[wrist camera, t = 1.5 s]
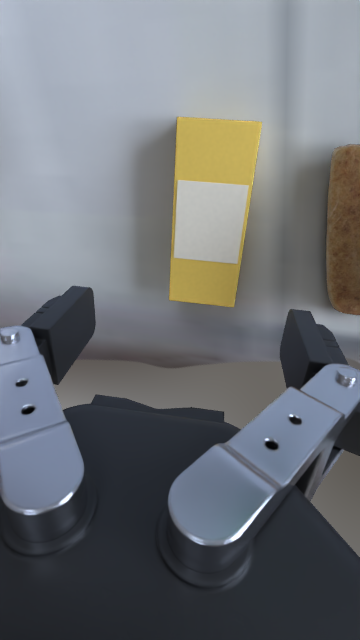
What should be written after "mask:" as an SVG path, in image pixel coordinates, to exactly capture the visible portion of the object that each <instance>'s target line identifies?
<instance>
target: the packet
mask: <svg viewBox="0 0 360 640" xmlns="http://www.w3.org/2000/svg"><path fill="white" fill-rule="evenodd" d="M261 127H262V122H257V121H240V120H223V119H207V118H190V117H177V128H176V151H175V174H174V196H173V219H172V241H171V264H170V286H169V300H171V301H180V302H189V303H198V304H207V305H216V306H226V307H234V305H235V298H236V292H237V285H238V279H239V272H240V265H241V259H242V252H243V246H244V239H245V232H246V226H247V219H248V213H249V206H250V199H251V193H252V186H253V180H254V173H255V166H256V160H257V153H258V147H259V140H260V133H261Z"/></svg>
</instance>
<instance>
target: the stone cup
mask: <svg viewBox="0 0 360 640" xmlns="http://www.w3.org/2000/svg"><path fill="white" fill-rule="evenodd" d="M326 274H327V290H328V295H329V299H330V301H331V304H332V306H333V308H334V309H336V310H337V311H339V312H342V313H346V314H353V315H360V145H355V144H349V145H346V146H339V147H337V148H335V149H334V151H333V154H332V159H331V167H330V184H329V189H328V208H327V237H326Z"/></svg>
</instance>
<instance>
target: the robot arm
mask: <svg viewBox="0 0 360 640" xmlns="http://www.w3.org/2000/svg"><path fill="white" fill-rule="evenodd" d="M95 323H96V321H95V308H94V296H93V290H92V288H90V287H80V286H72V287H71V288H69V289H68V290H67V291H66V292H65V293H64V294H63V295H62V296H57V297H55V298H53V299H51V300H49V301H47V302H46V303H45V304H44V305H43V306H42V308H40V309H39V310H37V311H36V313H34V314H33V315H32V316H31V317H30V318H29V319H27V320H26V321H25V322H24V323H23V324H22V325H21V326H8V327H3V328H0V640H360V557H359V556H358V555H357V554H356V553H355V552H354V551H353V549H352V548H351V547H350V546H349V545H348V544H347V543H346V542H345V540H343V538H342V537H341V536H340V535H339V534H338V533H337V531H336V530H335V529H334V528H333V527H332V526H331V525H330V524H329V522H327V520H326V519H325V518H324V517H323V516H322V515H321V514H320V512H319V511H318V510H317V509H316V508H315V507H314V506H313V504H312V503H311V502H310V501H311V499H312V497H313V495H314V494H315V492H316V490H317V488H318V487H319V485H320V484H321V482H322V481H323V479H324V478H325V477H326V475H327V474H328V472H329V471H330V469H331V468H332V467H333V465H334V463H335V462H336V461H337V459H338V458H339V456H340V455H341V454H342V452H343V450H346V451H348V452H351V453H354V454H356V455H358V456H360V371H359V370H358V369H356V368H354V367H351V366H349V365H348V363H347V361H346V359H345V357H344V355H343V353H342V351H341V349H340V348H339V345H338V343H337V342H336V339H335V337H334V335H333V333H332V332H331V331H330V330H328V329H327V328H326V327H325V326H324V325H320V324H316V322H315V320H314V318H313V316H312V314H311V312H310V311H303V310H294V309H290V310H289V312H288V316H287V320H286V324H285V328H284V333H283V337H282V341H281V346H280V360H281V364H282V369H283V373H284V378H285V382H286V387H287V389H286V390H285V391H284V392H283V393H282V394H281V395H280V396H279V397H277V398H276V399H275V400H274V401H273V402H272V403H271V404H270V405H268V406H267V407H266V408H265V409H264V410H263V411H262V412H260V413H259V414H258V415H257V416H256V417H255V418H254V419H253V420H251V421H250V422H249V423H248V424H247V425H246V426H245V427H243V428H242V429H239V428H237V427H235V426H233V425H231V424H229V423H226V422H224V412H222V411H214V410H207V409H200V408H192V407H191V408H174V409H173V408H172V409H155V408H152V407H149V406H146V405H143V404H141V403H137V402H135V401H132V400H129V399H125V398H117V397H110V396H103V395H95V397H94V399H93V401H92V403H91V404H83V405H77V406H73V407H70V408H67V409H64V410H62V407H61V404H60V401H59V398H58V396H57V393H56V390H55V387H54V384H56V385H58V384H59V383H60V381H61V380H62V379H63V377H64V376H65V374H66V373H67V372H68V370H69V368H70V367H71V365H72V364H73V363H74V361H75V360H76V359H77V357H78V356H79V354H80V353H81V351H82V350H83V349H84V347H85V346H86V344H87V343H88V341H89V340H90V338H91V337H92V335H93V333H94V330H95Z"/></svg>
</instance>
